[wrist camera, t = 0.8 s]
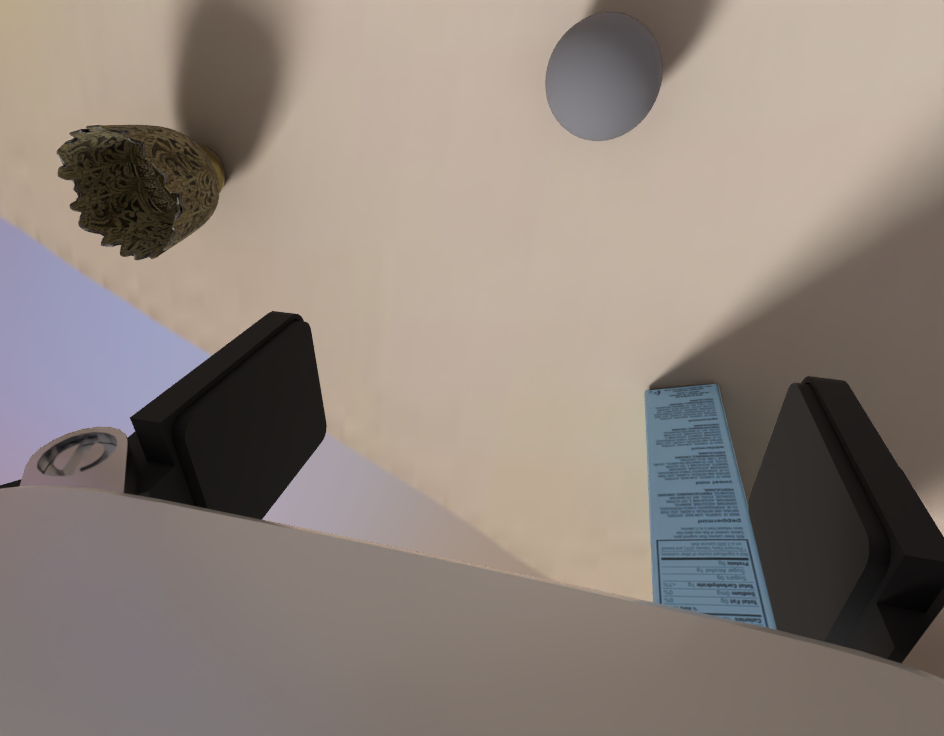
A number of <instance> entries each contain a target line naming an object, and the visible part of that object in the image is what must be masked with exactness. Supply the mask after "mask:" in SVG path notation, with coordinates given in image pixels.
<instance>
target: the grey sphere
mask: <svg viewBox="0 0 944 736" xmlns="http://www.w3.org/2000/svg"><path fill="white" fill-rule="evenodd" d="M661 81H662V58H661V54H660V50H659V47H658V44H657V42H656V40H655V38H654V37H653V35H652V34H651V32H650V31H649V30H648V29H647V28H646V27H645V26H644V25H643V24H642V23H641V22H639V21H638V20H636V19H635V18H633V17H631V16H628V15H625V14H622V13H615V12H606V13H599V14H595V15H592V16H589V17H587V18H585V19H583V20H581V21H580V22H578V23H577V24H575V25H574V26H573V27H572V28H570V29H569V30H568V31H567V32H566V33H565V34H564V35H563V36H562V38H561V39H560V41H559V42H558V43H557V45H556V47H555V49H554V50H553V52H552V55H551V57H550V60H549V63H548V67H547V72H546V82H545V85H546V95H547V100H548V103H549V106H550V109H551V111H552V113H553V115H554V116H555V118H556V120H557V121H558V122H559V123H560V125H561V126H562V127H564V128H565V129H566V130H567V131H568V132H570V133H571V134H573V135H575V136H577V137H579V138H582V139H586V140H591V141H604V140H610V139H614V138H617V137H619V136H622V135H624V134H625V133H627V132H629V131H630V130H632V129H633V128H635V127H636V126H637V125H638V124H639V123H640V122H641V121H642V120H643V119H644V118H645V117H646V115H647V114H648V113H649V111H650V110H651V108H652V106H653V104H654V103H655V101H656V98H657V96H658V93H659V90H660V86H661Z"/></svg>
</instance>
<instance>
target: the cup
mask: <svg viewBox="0 0 944 736" xmlns="http://www.w3.org/2000/svg"><path fill="white" fill-rule="evenodd" d="M86 128H87V129H80V130H77V131H74V132H71V133H69V134H70V135H71V136H73V137H75V138H73V139H72V140H69V141H66V142H65V143H64V144H63V145H62V146H61V147H60V148H59V149H58V150H57V155H58V157H59V158H60V159H61V161H62V163H63V166H61V167H60V168H59V169H58V176H59V177H60V178H62V179H65V180H71V179H72V181H73V180H74V181H73V182H75V183H74V184H75V186H74V191H75V192H76V193H77V192H78V193H77V195H78V198H77V199H76V201H75V202H73V203H71V204H70V209H72V210H73V211H77V212H81V215H80V219H79V222H78V223H79V227H81V228H82V229H83V230H85V231H88V232H91V233H97V234H101V235H103V236H104V238H102V241H101V246H106V247H107V246H109V247H113V246H116V245H121V249H120V255H121V256H123V257H127V256H131V255H132V256H134V258H135V259H134V260H141V259H144V258H147V257H150V258H151V259H154V258H156V257H158V256H159V255H160V254H162V253H163V252H165V251H167V250H168V249H170V248H171V247H173V246H174V245H176V244H177V243H179V242H180V241H182V240H183V239H185V238H186V237H188V236H189V235H191V234H192V233H193V232H195V231H196V230H198V229H199V228H200V227H201V226H202V225H204V224H205V223H206V222H207V221H208V220H209V218H210V217H211V216H212V214H213V213H214V211H215V209H216V207H217V204H218V200H219V193H220V192H221V190H222V188H223V186H224V183H225V172H224V168H223V165H222V163H221V161H220V160H219V158H218V157H217V156H216V154H215V153H214V152H213V151H211V150H210V149H209V148H207V147H205V146H203V145H200V144H197V143H195V142H194V141H193V140H191V139H190V138H189V137H187V136H185V135H184V134H182V133H180V132H177V131H175V130H172V129H169V128H164V127H159V126H150V125H107V126H102V125H94V126H87V127H86Z"/></svg>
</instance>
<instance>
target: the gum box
mask: <svg viewBox="0 0 944 736" xmlns="http://www.w3.org/2000/svg"><path fill="white" fill-rule="evenodd" d="M645 416H646V440H647V464H648V490H649V516H650V540H651V565H652V584H653V602H654V603H658V604H663V605H668V606H672V607H677V608H681V609H686V610H690V611H695V612H699V613H704V614H708V615H713V616H717V617H721V618H726V619H730V620H735V621H740V622H744V623H749V624H754V625H759V626H763V627H767V628H771V629H775V630H777V628H776V624H775V620H774V616H773V612H772V608H771V603H770V599H769V595H768V591H767V587H766V583H765V578H764V574H763V570H762V566H761V562H760V558H759V554H758V549H757V545H756V541H755V537H754V533H753V529H752V524H751V520H750V516H749V507H748V503H747V499H746V496H745V492H744V488H743V484H742V480H741V476H740V472H739V468H738V464H737V459H736V455H735V451H734V447H733V443H732V439H731V435H730V431H729V427H728V422H727V418H726V414H725V410H724V406H723V402H722V397H721V392H720V387H719V385H718V384H706V385H696V386H686V387H676V388H666V389H656V390H646V391H645Z"/></svg>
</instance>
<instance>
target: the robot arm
mask: <svg viewBox="0 0 944 736" xmlns="http://www.w3.org/2000/svg"><path fill="white" fill-rule="evenodd" d="M130 419H131V421H132V424H133V426H134V429H135V432H134V433H133V434H132V435H131V436H129V437H128V438H127V436H126V434H125V433H123V432H122V431H121V430H119V429H116V428H112V427H93V428H86V429H82V430H78V431H75V432H72V433H68V434H66V435H63V436H61V437H59V438H57V439H55V440H52V441H51V442H49V443H48V444H46V445H44V446H43V447H41V448H40V449H39V450H38V451H37V452H36V453H35V454H33V455H32V456H31V458H30V460H29V461H28V463H27V464H26V467H25V470H24V473H23V477H22V479H21V480H18V481H14V482H11V483H7V484H4V485H0V736H944V537H943V535H942V534H941V532H940V530H939V529H938V527H937V526H936V524H935V522H934V521H933V519H932V518H931V516H930V514H929V513H928V511H927V509H926V508H925V506H924V505H923V503H922V501H921V500H920V498H919V496H918V495H917V493H916V492H915V490H914V488H913V487H912V485H911V484H910V482H909V480H908V479H907V477H906V475H905V474H904V472H903V471H902V470H901V468H900V467H899V466H898V465H897V463H896V461H895V460H894V458H893V456H892V455H891V453H890V452H889V450H888V448H887V447H886V445H885V443H884V442H883V440H882V439H881V437H880V435H879V434H878V432H877V430H876V429H875V427H874V426H873V424H872V422H871V421H870V419H869V417H868V416H867V414H866V413H865V411H864V409H863V408H862V406H861V404H860V403H859V401H858V400H857V398H856V396H855V395H854V393H853V391H852V390H851V388H850V387H849V385H848V384H847V383H846V382H845V381H842V380H834V379H826V378H818V377H809V376H808V377H806V378H805V379H804V380H803V381H802V383H801V384H800V383H793V384H791V386H790V387H789V389H788V392H787V395H786V397H785V400H784V403H783V406H782V409H781V411H780V414H779V417H778V420H777V422H776V425H775V428H774V431H773V434H772V436H771V439H770V442H769V445H768V447H767V450H766V453H765V456H764V458H763V461H762V464H761V467H760V470H759V472H758V475H757V478H756V481H755V483H754V486H753V489H752V492H751V495H750V499H749V516H750V520H751V524H752V529H753V533H754V537H755V541H756V545H757V549H758V554H759V558H760V562H761V566H762V570H763V574H764V578H765V583H766V587H767V591H768V595H769V599H770V603H771V608H772V612H773V616H774V620H775V624H776V628H777V630H775V629H771V628H767V627H763V626H759V625H754V624H749V623H744V622H740V621H735V620H730V619H726V618H721V617H717V616H713V615H708V614H704V613H699V612H695V611H690V610H686V609H681V608H677V607H672V606H668V605H663V604H658V603H654V602H649V601H644V600H640V599H635V598H631V597H626V596H621V595H617V594H612V593H607V592H603V591H598V590H594V589H589V588H584V587H580V586H575V585H570V584H566V583H561V582H557V581H552V580H547V579H543V578H538V577H533V576H529V575H524V574H519V573H515V572H510V571H505V570H501V569H496V568H491V567H486V566H482V565H477V564H472V563H467V562H463V561H458V560H453V559H449V558H444V557H438V556H434V555H430V554H425V553H420V552H415V551H411V550H406V549H401V548H396V547H391V546H386V545H382V544H377V543H372V542H367V541H362V540H358V539H353V538H348V537H343V536H339V535H334V534H329V533H324V532H319V531H314V530H309V529H304V528H300V527H295V526H290V525H284V524H280V523H275V522H270V521H265V520H262V518H263V517H264V516H265V515H266V513H267V512H268V511H269V509H270V508H271V507H272V506H273V504H274V503H275V502H276V501H277V499H278V498H279V497H280V495H281V494H282V493H283V491H284V490H285V489H286V488H287V486H288V485H289V484H290V482H291V481H292V480H293V478H294V477H295V476H296V475H297V473H298V472H299V471H300V469H301V468H302V467H303V466H304V464H305V463H306V462H307V460H308V459H309V458H310V456H311V455H312V454H313V452H314V451H315V450H316V449H317V447H318V446H319V444H320V443H321V442H322V440H323V439H324V437H325V433H326V419H325V413H324V407H323V400H322V394H321V388H320V382H319V376H318V370H317V364H316V358H315V352H314V346H313V339H312V333H311V328H310V326H309V324H308V323H307V322H304V320H303V318H302V317H301V316H300V315H299V314H292V313H284V312H276V311H272V312H270V313H268V314H267V315H265V316H264V317H263V318H261V319H260V320H259V321H257V322H256V323H255V324H253V325H252V326H251V327H249V328H248V329H247V330H246V331H244V332H243V333H242V334H240V335H239V336H238V337H236V338H235V339H234V340H232V341H231V342H230V343H228V344H227V345H226V346H224V347H223V348H222V349H220V350H219V351H218V352H216V353H215V354H214V355H212V356H211V357H210V358H208V359H207V360H206V361H205V362H203V363H202V364H201V365H199V366H198V367H196V368H195V369H194V370H193V371H191V372H190V373H189V374H187V375H186V376H185V377H183V378H182V379H181V380H179V381H178V382H177V383H175V384H174V385H173V386H172V387H170V388H169V389H167V390H166V391H165V392H163V393H162V394H161V395H159V396H158V397H157V398H156V399H154V400H153V401H151V402H150V403H149V404H147V405H146V406H145V407H144V408H142V409H141V410H140V411H138V412H137V413H136V414H134V415H133V416H132V417H130Z"/></svg>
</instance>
